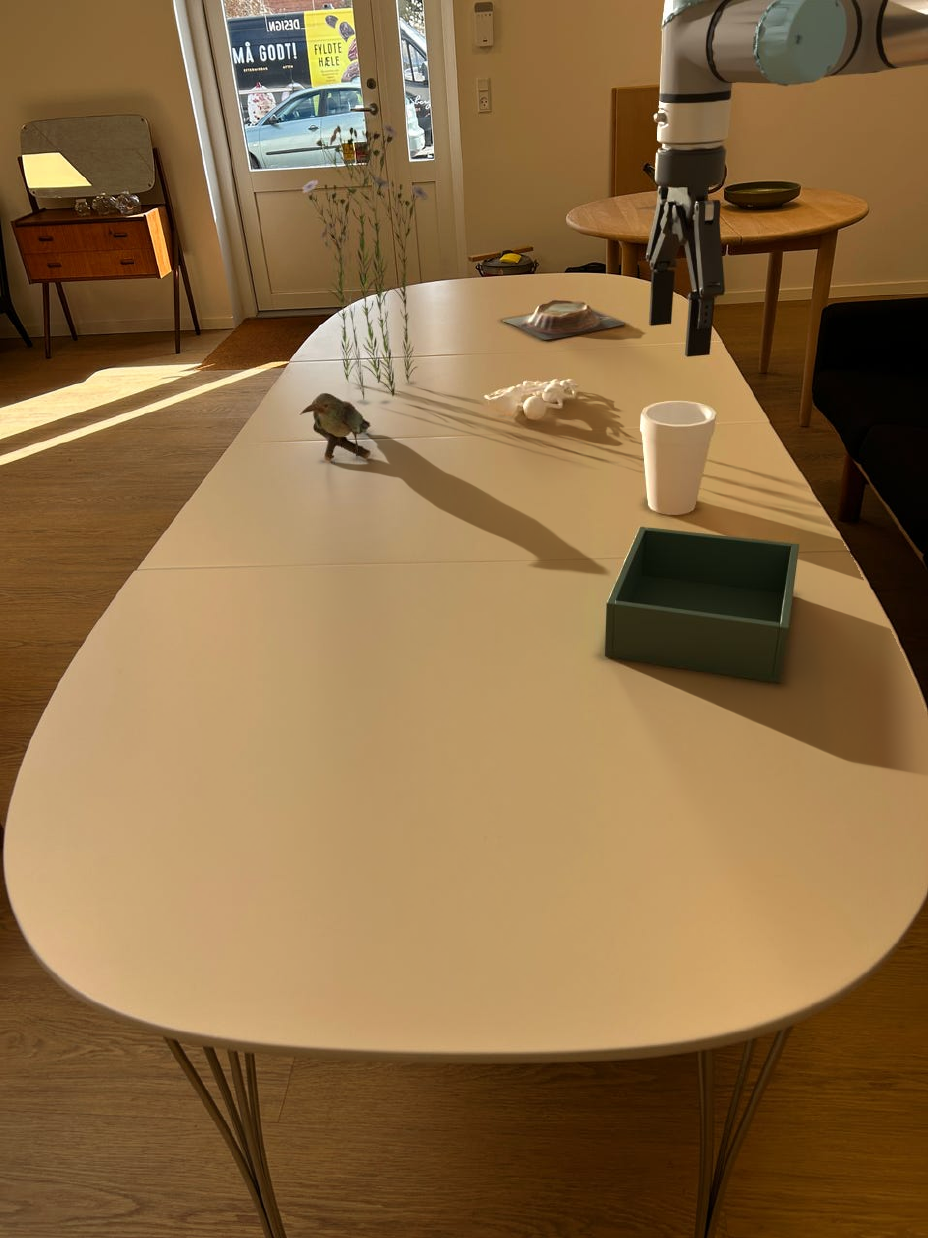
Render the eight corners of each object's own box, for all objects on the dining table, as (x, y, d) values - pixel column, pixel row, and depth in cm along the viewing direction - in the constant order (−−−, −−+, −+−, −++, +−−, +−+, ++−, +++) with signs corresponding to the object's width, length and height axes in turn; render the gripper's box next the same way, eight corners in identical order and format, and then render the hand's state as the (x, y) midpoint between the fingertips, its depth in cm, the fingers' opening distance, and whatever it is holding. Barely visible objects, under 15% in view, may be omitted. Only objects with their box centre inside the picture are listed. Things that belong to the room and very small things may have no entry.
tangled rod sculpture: (528, 387, 174) (526, 365, 172) (598, 392, 167) (597, 368, 165) (471, 418, 161) (469, 394, 159) (544, 424, 153) (543, 399, 151)
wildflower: (345, 369, 186) (314, 114, 162) (455, 373, 180) (439, 109, 156) (299, 408, 168) (256, 127, 144) (419, 414, 162) (395, 122, 138)
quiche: (580, 306, 218) (580, 288, 216) (628, 325, 202) (628, 306, 200) (500, 320, 211) (499, 302, 209) (543, 341, 195) (542, 322, 193)
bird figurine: (335, 423, 158) (300, 340, 140) (391, 426, 156) (362, 343, 138) (316, 489, 153) (277, 411, 135) (374, 493, 150) (341, 415, 133)
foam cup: (644, 487, 132) (648, 398, 125) (710, 493, 129) (719, 402, 122) (631, 516, 125) (635, 423, 118) (701, 523, 122) (710, 429, 115)
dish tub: (791, 595, 106) (799, 543, 103) (779, 683, 92) (788, 628, 89) (637, 575, 112) (639, 526, 108) (604, 656, 98) (606, 603, 94)
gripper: (625, 136, 112) (619, 315, 124) (698, 159, 92) (682, 372, 103) (685, 132, 113) (673, 310, 125) (771, 154, 92) (747, 366, 104)
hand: (677, 338), depth 114 cm, fingers open, 13 cm apart
